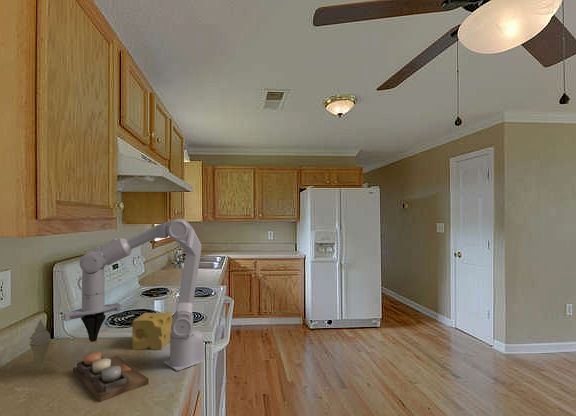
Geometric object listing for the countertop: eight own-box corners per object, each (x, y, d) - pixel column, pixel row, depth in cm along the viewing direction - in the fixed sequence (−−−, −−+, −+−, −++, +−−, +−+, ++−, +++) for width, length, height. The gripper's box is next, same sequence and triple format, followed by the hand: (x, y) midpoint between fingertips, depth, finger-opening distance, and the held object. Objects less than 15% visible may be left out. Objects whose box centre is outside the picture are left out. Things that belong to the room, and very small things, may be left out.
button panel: (116, 360, 110) (116, 350, 110) (148, 384, 95) (148, 372, 95) (72, 373, 101) (72, 362, 101) (100, 401, 86) (100, 389, 86)
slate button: (116, 371, 95) (116, 364, 95) (123, 377, 92) (123, 369, 92) (99, 377, 92) (99, 369, 92) (105, 383, 89) (105, 375, 89)
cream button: (107, 364, 100) (107, 357, 100) (113, 369, 97) (113, 361, 97) (90, 369, 97) (90, 361, 97) (95, 374, 94) (95, 366, 94)
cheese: (162, 350, 118) (162, 320, 118) (130, 350, 118) (130, 320, 119) (172, 339, 129) (172, 311, 129) (143, 339, 129) (143, 311, 129)
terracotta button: (98, 357, 105) (98, 350, 105) (103, 361, 102) (103, 354, 102) (81, 361, 101) (81, 354, 101) (86, 366, 98) (87, 359, 98)
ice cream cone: (47, 365, 107) (47, 315, 107) (53, 369, 103) (53, 318, 104) (27, 370, 103) (27, 319, 103) (32, 375, 100) (33, 322, 100)
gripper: (114, 287, 110) (113, 331, 110) (60, 295, 99) (59, 343, 99) (123, 290, 105) (123, 336, 105) (67, 299, 94) (67, 350, 94)
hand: (92, 340), depth 102 cm, fingers closed
